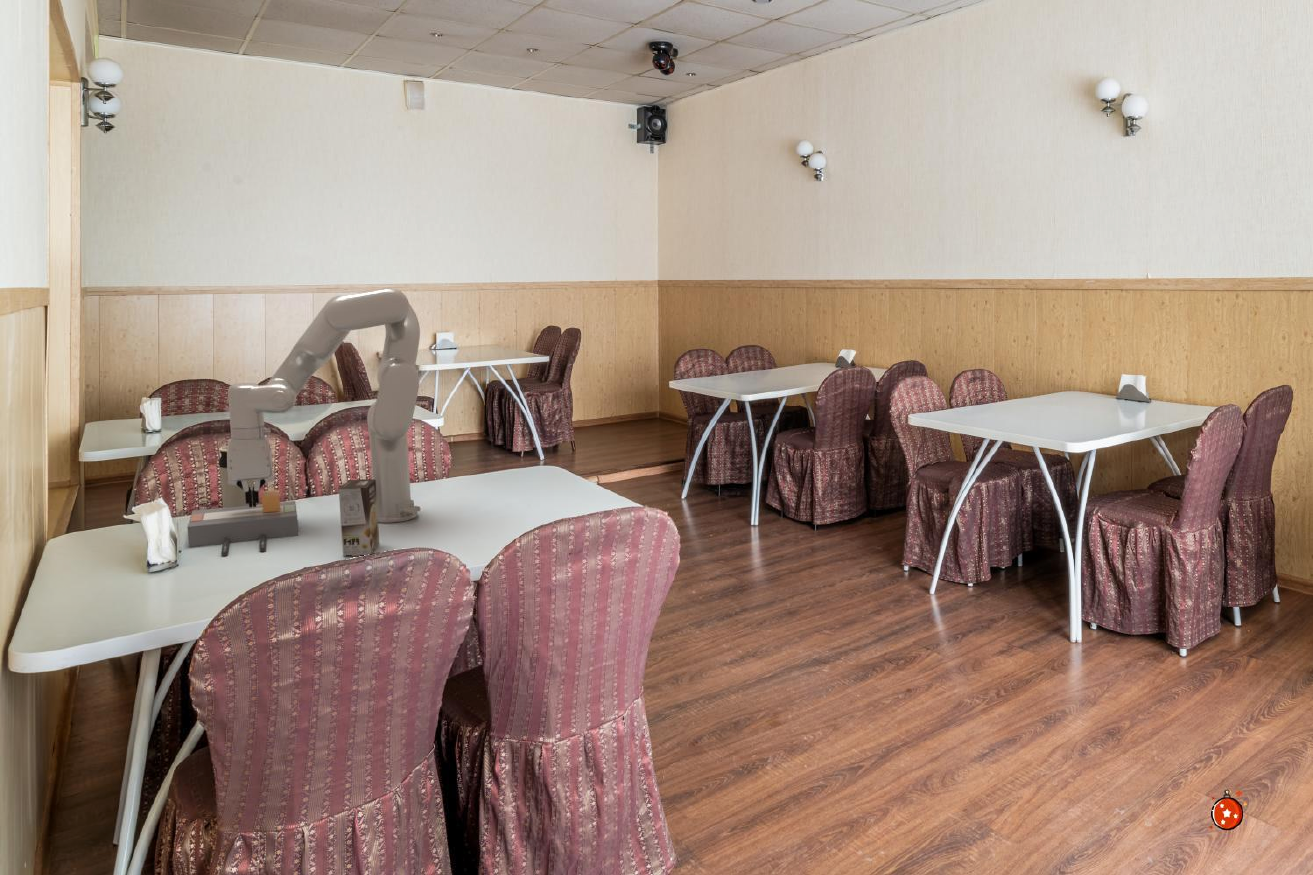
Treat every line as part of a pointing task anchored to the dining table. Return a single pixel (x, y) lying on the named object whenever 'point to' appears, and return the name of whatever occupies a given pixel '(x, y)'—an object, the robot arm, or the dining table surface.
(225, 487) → the travel mug
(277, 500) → the knob
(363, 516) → the coffee box
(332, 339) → the robot arm
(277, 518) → the box
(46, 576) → the dining table surface
